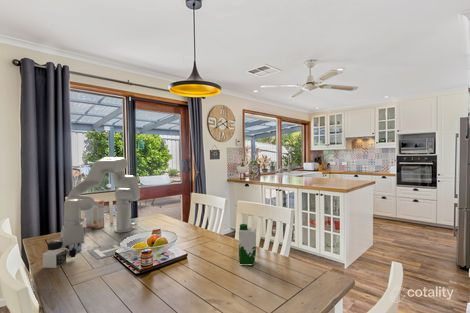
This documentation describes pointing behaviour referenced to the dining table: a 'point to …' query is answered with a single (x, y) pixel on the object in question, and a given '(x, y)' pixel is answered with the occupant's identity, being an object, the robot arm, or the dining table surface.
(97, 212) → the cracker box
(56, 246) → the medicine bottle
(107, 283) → the dining table surface
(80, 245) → the blue cube
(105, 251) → the letter card
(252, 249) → the milk carton
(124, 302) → the dining table surface
